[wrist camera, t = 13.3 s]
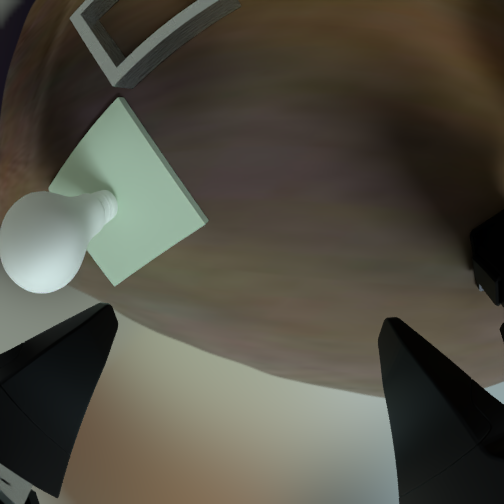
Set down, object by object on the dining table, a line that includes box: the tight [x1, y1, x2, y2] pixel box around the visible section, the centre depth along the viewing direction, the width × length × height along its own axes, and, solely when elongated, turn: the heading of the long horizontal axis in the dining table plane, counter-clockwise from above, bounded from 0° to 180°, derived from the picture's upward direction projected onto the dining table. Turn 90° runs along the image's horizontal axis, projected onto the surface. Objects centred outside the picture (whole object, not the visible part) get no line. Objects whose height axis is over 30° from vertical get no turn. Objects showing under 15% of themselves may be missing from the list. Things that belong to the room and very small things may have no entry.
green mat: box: [48, 97, 209, 287], centre depth 20 cm, size 12×12×1 cm
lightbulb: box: [0, 190, 118, 293], centre depth 15 cm, size 6×6×11 cm
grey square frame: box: [70, 0, 241, 89], centre depth 12 cm, size 10×10×2 cm
